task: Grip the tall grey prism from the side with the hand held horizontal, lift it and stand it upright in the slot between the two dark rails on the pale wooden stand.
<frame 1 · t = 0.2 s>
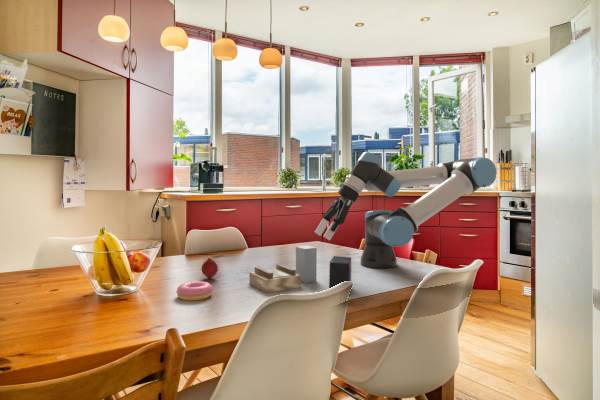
hand: (321, 236, 151), 15 cm above the table, tool tilted 35°, fingers open, 13 cm apart
stand: (274, 285, 137), on the table
onion: (209, 279, 146), on the table
tall grey prism: (306, 280, 144), on the table
small box: (340, 291, 130), on the table
doughnut: (195, 297, 124), on the table
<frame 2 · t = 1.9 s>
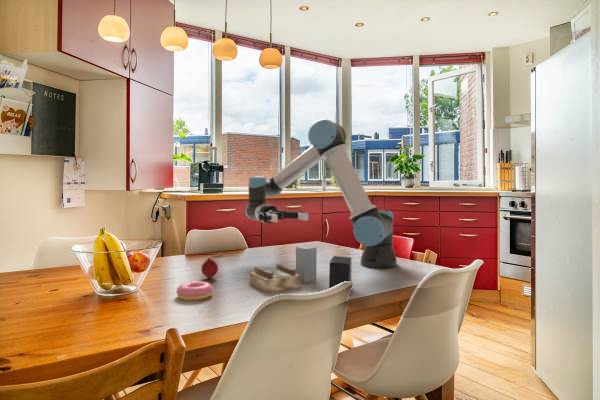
hand: (292, 217, 152), 22 cm above the table, tool horizontal, fingers open, 13 cm apart
nothing on the table moved.
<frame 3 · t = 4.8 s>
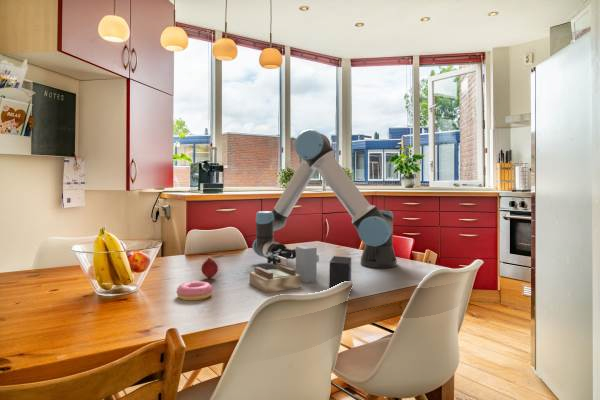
hand: (302, 260, 145), 7 cm above the table, tool horizontal, fingers open, 13 cm apart
nothing on the table moved.
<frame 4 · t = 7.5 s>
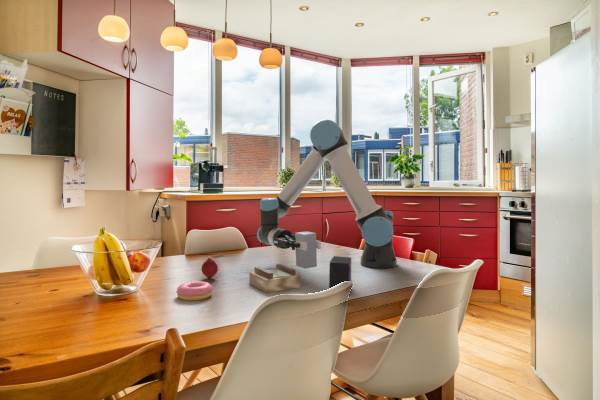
hand: (313, 245, 139), 13 cm above the table, tool horizontal, fingers closed on tall grey prism, 5 cm apart
tall grey prism: (306, 266, 144), point 5 cm above the table, touching gripper
everything else where it was.
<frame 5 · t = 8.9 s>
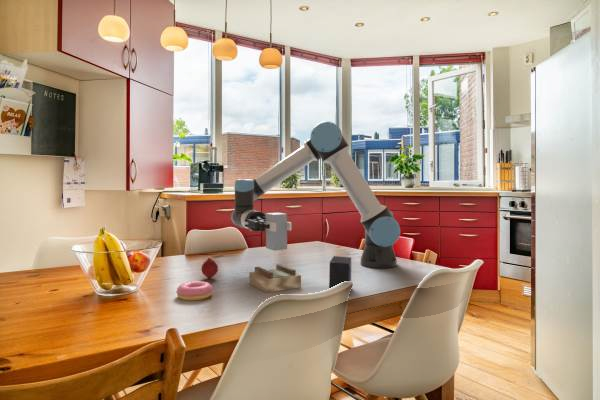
hand: (283, 227, 132), 20 cm above the table, tool horizontal, fingers closed on tall grey prism, 5 cm apart
tall grey prism: (276, 248, 137), point 13 cm above the table, touching gripper
everything else where it was.
when the fingers open (12 cm above the table, at t = 10.7 s): tall grey prism stays where it is, resting on stand.
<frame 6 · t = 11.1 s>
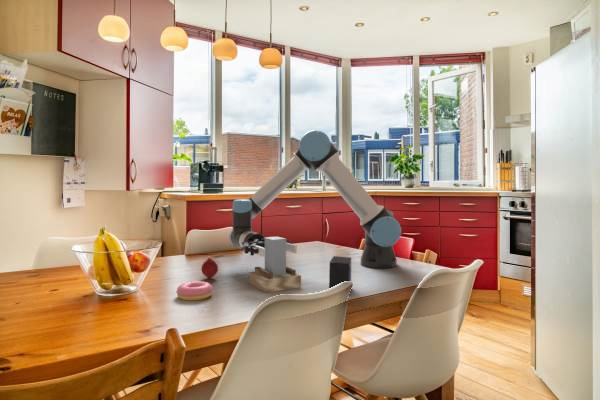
hand: (280, 250, 133), 12 cm above the table, tool horizontal, fingers open, 11 cm apart
tall grey prism: (275, 273, 137), point 4 cm above the table, touching stand
everything else where it was.
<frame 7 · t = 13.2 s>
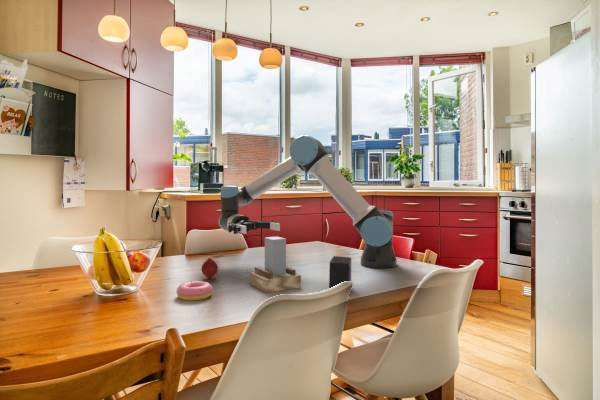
hand: (262, 228, 146), 18 cm above the table, tool horizontal, fingers open, 13 cm apart
nothing on the table moved.
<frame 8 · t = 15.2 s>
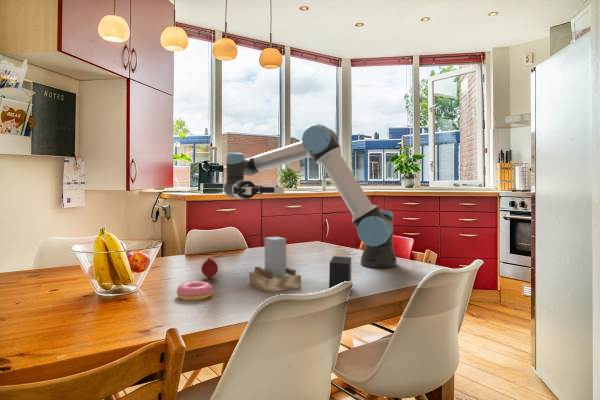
hand: (267, 190, 149), 32 cm above the table, tool horizontal, fingers open, 13 cm apart
nothing on the table moved.
at the end: tall grey prism inside the target area on the stand (0.3 cm from its centre), point 4.3 cm above the stand's base; tall grey prism tilted 0°; the gripper is holding nothing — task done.
